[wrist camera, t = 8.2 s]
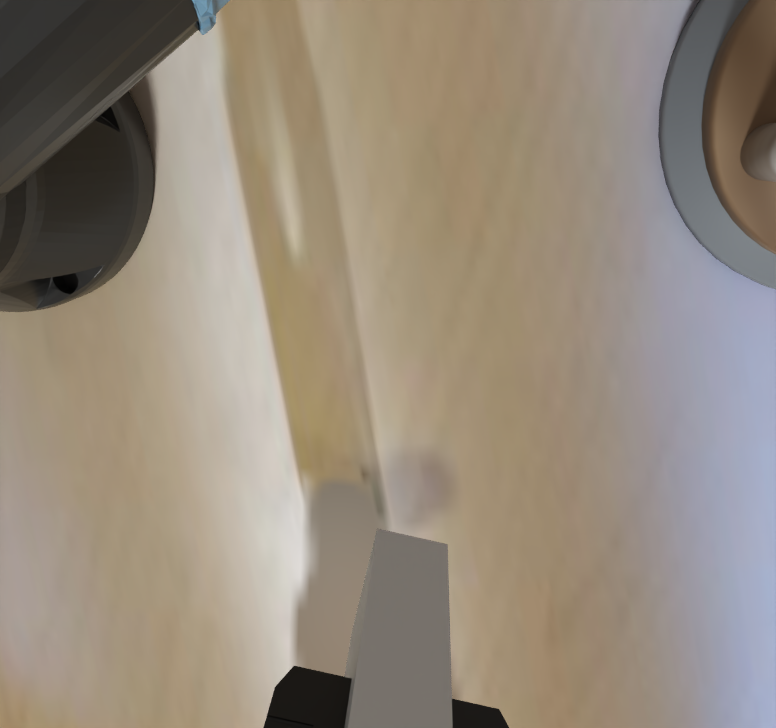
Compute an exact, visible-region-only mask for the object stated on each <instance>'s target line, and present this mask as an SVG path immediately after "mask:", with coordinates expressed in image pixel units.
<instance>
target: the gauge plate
mask: <svg viewBox="0 0 776 728" xmlns="http://www.w3.org/2000/svg"><path fill="white" fill-rule="evenodd" d="M748 1H749V0H700V2H699V3H698V5H697V6H696V8H695V10H694V11H693V13H692V15H691V17H690V19H689V20H688V22H687V24H686V26H685V27H684V29H683V31H682V33H681V36H680V38H679V41H678V43H677V45H676V48H675V50H674V52H673V55H672V57H671V61H670V64H669V67H668V71H667V74H666V78H665V81H664V85H663V91H662V97H661V103H660V110H659V134H658V136H659V147H660V158H661V163H662V168H663V172H664V176H665V181H666V184H667V187H668V190H669V192H670V195H671V197H672V200H673V203H674V205H675V207H676V209H677V210H678V212H679V214H680V216H681V218H682V219H683V221H684V223H685V225H686V226H687V227H688V229H689V230H690V231H691V232H692V234H693V235H694V236H695V238H696V239H697V240H698V241H699V243H700V244H701V245H702V246H703V247H705V248H706V249H707V250H708V251H709V252H710V253H711V254H712V255H713V256H714V257H715V258H716V259H718V260H719V261H721V262H722V263H723V264H725V265H726V266H728V267H729V268H730V269H732V270H733V271H735V272H737V273H739V274H741V275H743V276H745V277H747V278H749V279H751V280H753V281H755V282H757V283H760V284H762V285H764V286H767V287H770V288H773V289H776V255H775V254H774V253H772V252H770V251H768V250H766V249H765V248H763V247H761V246H760V245H759V244H757V243H756V242H755V241H753V240H752V239H751V238H749V237H748V236H747V235H746V234H745V233H744V232H743V231H742V230H741V229H740V228H739V227H738V226H737V225H736V224H735V223H734V222H733V221H732V219H731V218H730V216H729V215H728V213H727V212H726V211H725V209H724V208H723V206H722V205H721V203H720V201H719V199H718V197H717V195H716V193H715V191H714V189H713V187H712V184H711V181H710V178H709V175H708V172H707V169H706V164H705V159H704V153H703V148H702V128H701V124H702V112H703V102H704V97H705V92H706V87H707V83H708V79H709V76H710V73H711V70H712V67H713V64H714V61H715V58H716V55H717V53H718V51H719V49H720V47H721V45H722V43H723V41H724V39H725V36H726V34H727V33H728V31H729V29H730V28H731V26H732V24H733V23H734V21H735V20H736V18H737V16H738V15H739V13H740V12H741V10H742V9H743V8H744V7H745V5H746V4H747V3H748Z"/></svg>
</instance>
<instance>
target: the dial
mask: <svg viewBox="0 0 776 728" xmlns="http://www.w3.org/2000/svg"><path fill="white" fill-rule="evenodd" d="M701 128H702V148H703V153H704V159H705V164H706V169H707V172H708V175H709V178H710V181H711V184H712V187H713V189H714V191H715V193H716V195H717V197H718V199H719V201H720V203H721V205H722V206H723V208H724V209H725V211H726V212H727V213H728V215H729V216H730V218H731V219H732V221H733V222H734V223H735V224H736V225H737V226H738V227H739V228H740V229H741V230H742V231H743V232H744V233H745V234H746V235H747V236H748V237H749V238H751V239H752V240H753V241H755V242H756V243H757V244H759V245H760V246H761V247H763V248H765V249H766V250H768V251H770V252H772V253H774V254H775V255H776V0H749V1H748V3H747V4H746V5H745V7H744V8H743V9H742V10H741V12H740V13H739V15H738V16H737V18H736V20H735V21H734V23H733V24H732V26H731V28H730V29H729V31H728V33H727V34H726V36H725V39H724V41H723V43H722V45H721V47H720V49H719V51H718V53H717V55H716V58H715V61H714V64H713V67H712V70H711V73H710V76H709V79H708V83H707V87H706V92H705V97H704V102H703V112H702V124H701Z"/></svg>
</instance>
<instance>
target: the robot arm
mask: <svg viewBox="0 0 776 728" xmlns="http://www.w3.org/2000/svg"><path fill="white" fill-rule="evenodd" d="M229 1H230V0H0V311H6V312H25V311H35V310H41V309H47V308H51V307H55V306H58V305H61V304H64V303H66V302H69V301H71V300H73V299H76V298H78V297H81V296H83V295H85V294H88V293H90V292H92V291H94V290H96V289H97V288H99V287H100V286H102V285H103V284H105V283H106V282H107V281H109V280H110V279H111V278H112V277H114V276H115V275H116V274H117V273H118V272H119V271H120V270H121V269H122V268H123V266H124V265H125V264H126V263H127V262H128V260H129V259H130V258H131V256H132V255H133V253H134V251H135V250H136V248H137V246H138V244H139V243H140V241H141V238H142V236H143V234H144V231H145V228H146V225H147V223H148V219H149V215H150V211H151V205H152V198H153V180H154V179H153V164H152V156H151V150H150V145H149V141H148V137H147V133H146V130H145V127H144V124H143V121H142V119H141V116H140V114H139V112H138V109H137V107H136V105H135V103H134V101H133V99H132V97H131V96H130V94H129V92H128V90H130V89H131V88H132V87H133V86H134V85H135V84H137V83H138V82H139V81H140V80H141V79H142V78H143V77H145V76H146V75H147V74H148V73H149V72H150V71H151V70H153V69H154V68H155V67H156V66H157V65H158V64H159V63H161V62H162V61H163V60H164V59H165V58H166V57H168V56H169V55H170V54H171V53H172V52H173V51H174V50H176V49H177V48H178V47H179V46H180V45H181V44H182V43H184V42H185V41H186V40H187V39H188V38H189V37H190V36H192V35H193V34H194V33H195V32H196V31H197V30H199V31H200V33H201V34H202V35H204V34H205V33H207V32H208V31H209V30H210V29H212V27H213V26H214V25H215V23H216V13H217V12H218V11H219V10H220V9H221V8H222V7H223V6H224V5H225V4H226V3H227V2H229ZM264 728H509V727H508V725H507V723H506V721H505V719H504V717H503V716H502V714H501V712H500V710H499V709H496V708H491V707H487V706H482V705H478V704H473V703H469V702H464V701H460V700H455V699H452V688H451V652H450V616H449V580H448V544H444V543H439V542H435V541H431V540H426V539H422V538H417V537H413V536H408V535H404V534H399V533H395V532H390V531H386V530H381V529H377V531H376V536H375V540H374V543H373V548H372V552H371V556H370V560H369V564H368V568H367V572H366V576H365V580H364V584H363V589H362V593H361V597H360V601H359V605H358V609H357V614H356V617H355V622H354V625H353V630H352V634H351V640H350V647H349V652H348V658H347V665H346V671H345V676H344V677H343V676H338V675H333V674H329V673H324V672H320V671H316V670H311V669H306V668H302V667H298V666H294V667H293V668H292V669H291V670H290V671H289V672H288V673H287V674H286V675H285V677H284V678H283V679H282V680H281V681H280V682H279V683H278V684H277V686H276V687H275V690H274V693H273V697H272V700H271V704H270V707H269V711H268V714H267V718H266V721H265V724H264Z"/></svg>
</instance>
